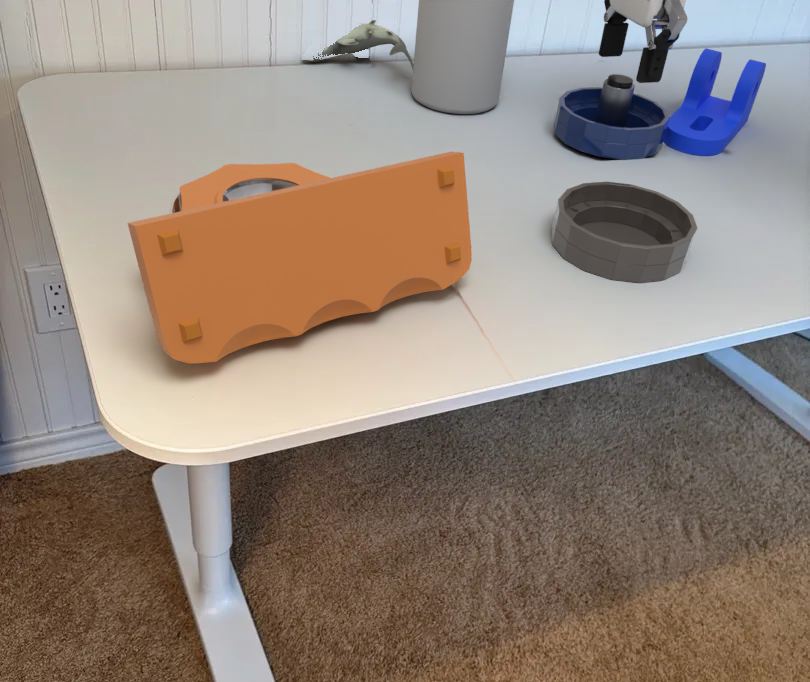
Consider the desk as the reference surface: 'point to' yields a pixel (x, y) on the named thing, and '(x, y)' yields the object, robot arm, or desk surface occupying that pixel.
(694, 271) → the desk surface
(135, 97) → the desk surface
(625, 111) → the shaker
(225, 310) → the desk clock
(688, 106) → the bracket
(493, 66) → the cylinder vase
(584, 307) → the desk surface
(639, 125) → the blue bowl
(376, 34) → the grey-green dolphin figure
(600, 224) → the grey bowl
